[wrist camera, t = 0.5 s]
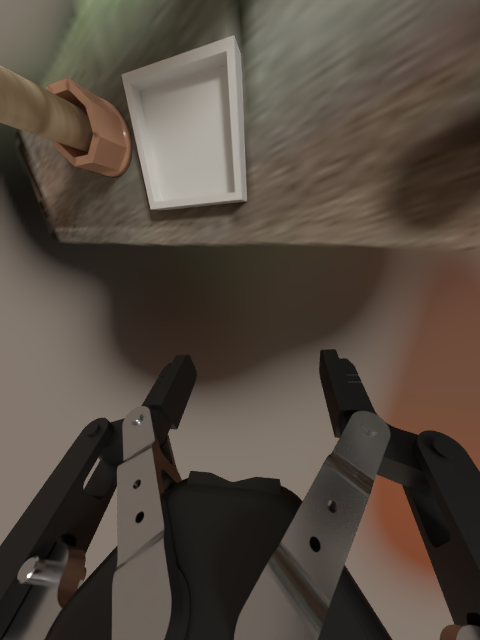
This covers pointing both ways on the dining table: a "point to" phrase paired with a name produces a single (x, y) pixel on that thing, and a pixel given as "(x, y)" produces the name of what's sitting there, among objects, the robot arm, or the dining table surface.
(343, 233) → the dining table surface
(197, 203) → the grey tray
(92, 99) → the sleeve cup
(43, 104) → the wood rod
